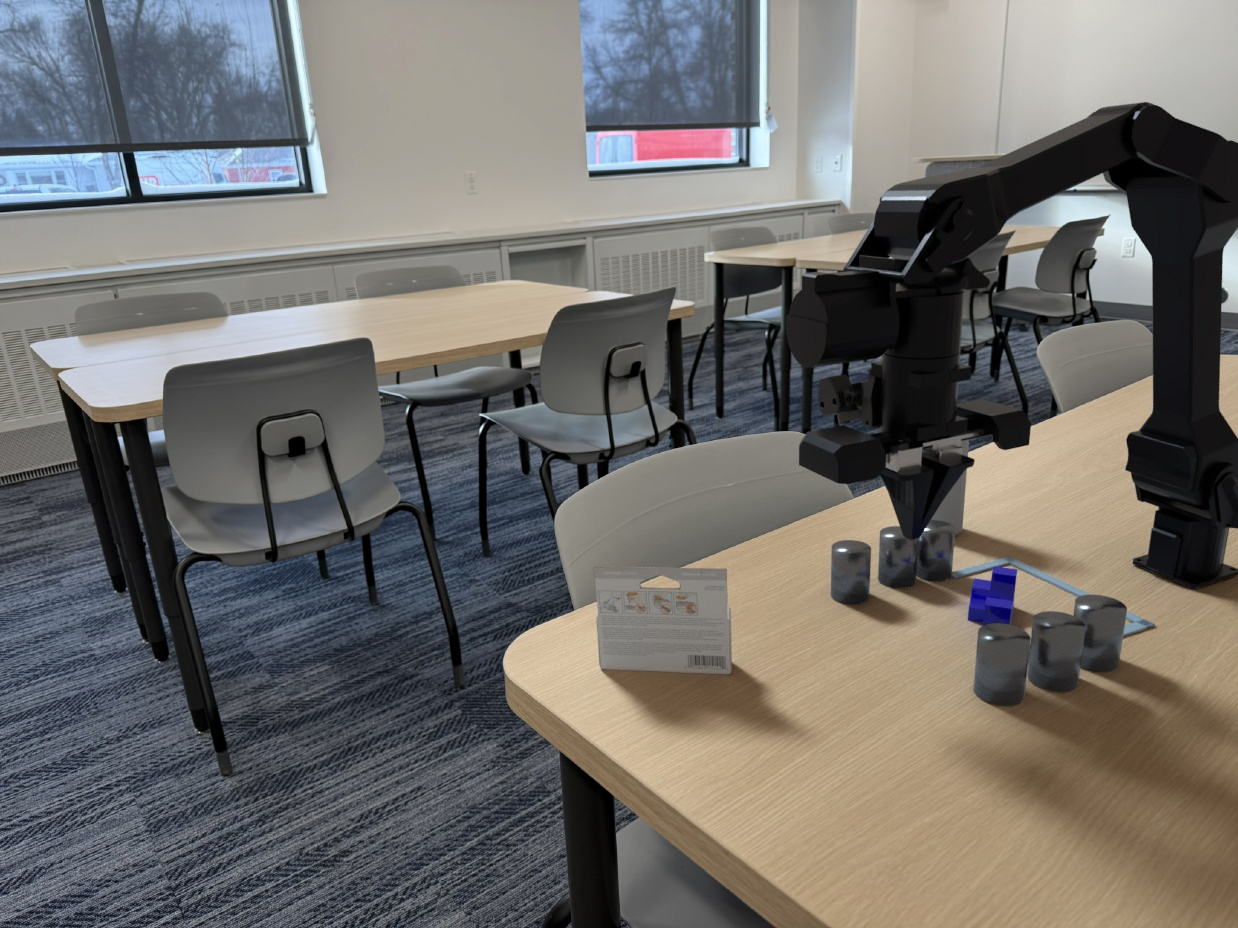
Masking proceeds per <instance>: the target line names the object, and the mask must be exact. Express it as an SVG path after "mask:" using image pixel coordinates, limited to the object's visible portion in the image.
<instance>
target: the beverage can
mask: <svg viewBox="0 0 1238 928" xmlns="http://www.w3.org/2000/svg"><path fill="white" fill-rule="evenodd" d="M969 443H970V439H968V440H963V441H961V447H963V448H962V455H964V456H967V457H969V447H970V446H969ZM967 473H968V468H967V469H966V470H965V471H964V473H963V474H962V475H961V477H960V478H959V479H958V481H957V482H956V483H955V485H954V486H953V487H952V489H951V490H950V491H949V493H948V494H947V496H946V497H945V498H944V500H943V502H942V503H941V504H940V506H939V508H938V509H937V511H936V512H935V514H934V516H933V517H932V519H931V520H938V521H944V522H947V523H950V524H952V525H953V526H954V527H955V536H958V534H959V533H960V532H961V531H962V530H963V526H964V514H965V513H964V512H965V502H966V501H965V500H966V487H967V486H966V485H967Z"/></svg>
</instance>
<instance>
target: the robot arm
mask: <svg viewBox="0 0 1238 928" xmlns="http://www.w3.org/2000/svg"><path fill="white" fill-rule="evenodd" d="M1101 174H1102V176H1103V177H1104V181H1106V183H1107V184H1109V185H1111V186H1112V187H1113V188H1115V189H1116V190H1118V191H1119V192H1121V193H1122V194H1124V195H1125V196H1126V200H1127V205H1128V212H1129V217H1130V224H1131V228H1132V230H1133V231H1134V232H1135V233H1136V235H1137V236H1138V238H1139V240H1140V242H1142V244H1143V245H1144V247H1145V249H1146V250H1147V251H1148V253H1149V254H1150V258H1151V262H1152V264H1151V265H1152V267H1151V271H1152V273H1151V275H1152V277H1151V278H1152V279H1151V280H1152V281H1151V282H1152V285H1151V287H1152V289H1151V291H1152V292H1151V293H1152V295H1151V296H1152V300H1151V301H1152V302H1151V303H1152V309H1151V310H1152V411H1151V414H1150V415H1149V417H1148V418H1146V420H1145V422H1144V423H1142V425H1141V427H1140V428H1139V430H1135V431H1131V432H1129V433H1128V434H1127V436H1126V439H1125V442H1126V447H1127V462H1126V466H1125V469H1124V471H1127V472H1129V473H1130V475H1131V480H1132V482H1133V484H1134V487H1135V494H1136V499H1137V501H1138V502H1140V503H1141V502H1142V503H1147V504H1148V505H1152V506H1155V507H1158V509H1157V510H1155V512H1154V518H1153V524H1152V528H1151V530H1150V537H1149V544H1148V550H1147V553H1146V554H1144V555H1141V556H1138V557H1134V558H1132V562H1131V564H1133V565H1134V566H1136V567H1140V568H1141V569H1144V570H1146V571H1148V572H1151V573H1154V574H1156V575H1158V576H1161V577H1162V578H1165V579H1168V580H1171V581H1173V582H1175V583H1178V584H1180V585H1183V586H1185V587H1188V588H1190V589H1199V588H1201V587H1205V586H1208V585H1210V584H1215V583H1217V582H1220V581H1223V580H1226V579H1229V578H1233V577H1235V576H1238V568H1236V567H1235V566H1234V567H1233V566H1232V565H1228V564H1226V563H1224V561H1225V560H1224V559H1225V555H1226V548H1227V544H1228V538H1229V532H1230V529H1238V436H1237V435H1236V433H1235V431H1234V430H1233V429H1232V427H1231V426H1230V424H1229V423H1228V421H1227V420H1226V418H1225V417H1224V415H1223V413H1222V412H1221V409H1220V382H1221V381H1220V378H1221V377H1220V375H1221V342H1222V340H1221V338H1222V337H1221V335H1222V334H1221V333H1222V332H1221V331H1222V303H1223V302H1222V299H1223V297H1222V295H1223V264H1224V263H1223V259H1224V258H1223V257H1224V249H1225V247H1226V245H1227V244H1228V242H1229V241H1230V240H1231V238H1232V237H1233V236H1234V234H1235V233H1236V231H1237V230H1238V142H1237V141H1234V140H1227V139H1226V138H1225V137H1224V136H1222V135H1221V134H1219V133H1217V132H1215V131H1212V130H1210V129H1206V128H1204V127H1201V126H1198V125H1195V124H1194V123H1190V122H1187V121H1184V120H1183V119H1179V118H1176V117H1175V116H1173V115H1172V113H1171V114H1170V113H1169V112H1168V111H1167V110H1166V109H1165V108H1163V107H1162V106H1159V105H1157V104H1154V103H1151V102H1148V101H1144V102H1143V101H1142V102H1134V103H1127V104H1119V105H1110V106H1103V107H1100V108H1099V109H1097V110H1095V111H1093V112H1091V114H1089V115H1088V116H1087V117H1085V118H1083V119H1081V120H1079V121H1076V122H1075V123H1073V124H1070V125H1067V126H1066V127H1065V126H1064V128H1061V129H1060V130H1057V131H1055V132H1052V133H1050V134H1048V135H1045V136H1043V137H1042V138H1041V137H1040V138H1039V139H1037V140H1035V141H1033V142H1030V143H1028V144H1026V145H1023V146H1022V147H1021V146H1020V148H1017V149H1015V150H1013V151H1010V152H1008V153H1006V154H1004V155H1001V156H999V157H997V158H995V159H994V160H993V159H992V160H990V161H989V162H987V163H985V164H983V165H982V164H981V165H980V166H976V167H973V168H970V169H969V168H968V169H964V170H960V171H959V170H957V171H953V172H947V173H942V174H941V173H939V174H935V175H929V176H927V177H922V178H916V179H913V180H908V181H903V182H900V183H896V184H894V185H893V186H891V187H890V188H889V189H887V190H886V191H885V192H883V194H882V195H881V196H880V197H879V203H878V205H877V208H876V211H875V213H874V219H873V220H872V222H871V224H870V226H869V227H868V229H867V231H865V234H863V237H862V238H861V240H860V241H859V243H858V245H857V246H856V247H855V250H854V252H852V254H851V256H850V257H849V259H848V261H847V262H846V263H845V266H844V267H843V269H842V271H840V272H823V271H821V272H820V271H814V272H813V271H812V272H804V273H803V274H802V275H801V289H800V290H799V291H798V292H797V293H796V294H795V295H794V298H792V301H791V303H790V307H789V312H788V314H787V315H786V316H785V331H786V337H787V338H786V339H787V344H788V347H789V350H790V352H791V355H792V356H793V358H794V359H795V361H796V362H797V363H798V364H799V365H801V366H802V367H803V368H806V369H809V368H810V369H811V368H817V367H826V366H831V365H840V364H847V363H854V362H860V361H866V360H867V361H868V360H869V361H870V360H876V359H878V358H880V357H881V360H880V361H873V362H871V363H870V367H869V368H868V374H867V375H868V378H867V380H864V381H860V382H854V383H852V382H851V381H850V379H849V377H848V375H846V374H840V375H834V376H829V377H828V376H826V377H824V378H821V379H820V378H819V380H818V381H819V382H818V393H817V402H818V407H819V411H820V413H821V414H822V415H823V416H824V417H829V416H835V415H836V416H837V420H838V421H837V422H838V426H833V427H832V426H831V427H827V428H826V427H825V428H821V429H816V430H809V431H807V432H806V433H805V434H804V436H803V437H802V438H801V440H800V442H799V445H798V465H799V466H800V467H803V468H805V469H806V470H809V471H811V472H813V473H815V474H817V475H818V476H821V477H823V478H825V479H827V480H830V481H832V482H834V483H836V484H841V485H842V484H843V485H851V484H856V483H860V482H865V481H869V480H874V479H878V477H880V479H881V480H882V483H883V485H884V487H885V488H886V490H887V493H888V496H889V499H890V501H891V505H892V506H893V510H894V513H895V516H896V518H897V521H898V524H899V526H900V528H901V531H902V533H903V536H904V537H906V538H908V539H910V540H914V539H918V538H920V536H921V535H922V533H923V531H924V530H925V528H926V527H927V525H928V524H929V522H930V520H931V519H932V517H933V516H934V514H935V512H936V511H937V509H938V508H939V506H940V504H941V503H942V502H943V500H944V498H945V497H946V496H947V494H948V493H949V491H950V490H951V489H952V487H953V486H954V485H955V483H956V482H957V481H958V479H959V478H960V477H961V475H962V474H963V473H964V471H965V470H966V469H967V470H968V468H972V467H974V464H975V461H976V460H975V459H974V458H973V457H970V456H968V457H967V456H964V455H962V448H963V447H961V441H963V440H968V439H969V440H972V439H976V438H981V437H986V436H992V442H993V443H994V444H995V445H996V446H997V448H998V449H1000V450H1003V451H1007V450H1008V451H1009V450H1012V449H1016V448H1021V447H1026V446H1029V445H1030V440H1031V439H1030V438H1031V430H1032V429H1031V427H1032V422H1031V420H1030V419H1029V417H1028V416H1027V414H1026V411H1024V409H1022V408H1021V409H1020V408H1017V407H1014V406H1010V405H1006V404H1002V403H998V402H994V401H991V400H988V399H984V398H981V399H976V400H969V401H965V402H961V403H958V395H959V394H958V392H959V383H960V382H964V381H971V379H972V378H971V377H972V366H971V365H965V364H961V362H960V361H961V348H962V347H961V346H962V345H961V344H962V332H963V331H962V330H963V329H962V328H963V317H964V315H963V314H964V304H965V303H964V302H965V291H974V290H981V289H987V288H989V286H990V284H991V279H990V278H989V277H988V276H986V275H985V274H984V273H983V271H981V270H979V269H978V268H977V267H976V266H975V264H974V263H973V261H972V259H971V258H970V257H971V256H972V255H973V254H975V253H977V251H979V250H980V249H982V248H983V247H984V246H986V245H988V244H989V243H990V242H992V241H993V240H995V239H996V238H997V237H998V235H999V234H1000V233H1001V231H1002V230H1003V228H1004V226H1005V225H1006V223H1007V221H1009V220H1010V219H1012V218H1013V217H1015V216H1016V215H1017V214H1019V213H1021V212H1024V211H1025V210H1028V209H1029V208H1031V207H1033V206H1036V205H1037V204H1040V203H1043V202H1044V201H1046V200H1049V199H1051V198H1052V197H1055V196H1057V195H1059V194H1062V193H1063V192H1065V191H1067V190H1068V191H1069V190H1070V189H1072V188H1073V187H1074V188H1075V187H1076V186H1079V185H1080V184H1083V183H1085V182H1086V181H1089V180H1091V179H1094V178H1095V177H1097V176H1100V175H1101ZM860 419H861V425H862V426H866V427H867V428H875V427H876V428H879V432H877V433H872V434H868V433H865V432H863V431H860V430H858V429H854V428H852V427H849V426H847V425H846V424H850V423H851V421H855V420H860Z"/></svg>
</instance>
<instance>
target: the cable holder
mask: <svg viewBox="0 0 1238 928" xmlns="http://www.w3.org/2000/svg"><path fill="white" fill-rule="evenodd" d="M1017 575H1018V568H1017V569H1016V568H1010V567H1004V566H1000V567H996V566H993V568H992V571H991V579H990V580H987V579H981V578H975V577H974V579H973V583H972V587H971V593H970V600H969V605H968V612H967V613H968V614H967V621H970V622H977V623H983V624H982V626H984V625H987V624H993V623H1001V624H1008V625H1012V618H1013V613H1014V607H1015V606H1014V605H1015V596H1016V595H1015V594H1016V587H1017V586H1016V585H1017V577H1018V576H1017Z"/></svg>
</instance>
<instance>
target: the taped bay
mask: <svg viewBox="0 0 1238 928" xmlns="http://www.w3.org/2000/svg"><path fill="white" fill-rule="evenodd" d="M1007 565H1011V566H1013V567H1015V568H1017V569H1019V570H1021V571H1022V572H1023V571H1024V572H1026V573H1028V574H1030V575H1032V576H1034V577H1036V578H1039V579H1040V580H1043V581H1044V582H1047V583H1048V584H1051V585H1053V586H1055V587H1056V588H1057V587H1058V588H1059V589H1062V591H1066V592H1068V593H1069V594H1072V595H1074V596H1076V597H1077V598H1078V597H1079V596H1083V595H1092V594H1091V593H1089V592H1087V591H1085V590H1082V589H1081V588H1078V587H1076V586H1074V585H1072V584H1070V583H1067V582H1065V581H1063V580H1061V579H1059V578H1056V577H1055V576H1052V575H1050V574H1048V573H1046V572H1044V571H1042V570H1040V569H1037V568H1035V567H1033V566H1031V565H1028V564H1026V563H1024V562H1022V561H1021V560H1018V559H1016V558H1013V557H1011V556H1007V557H1006V556H1005V557H1002V558H999V559H995V560H991V561H988V562H983V563H980V564H977V565H974V566H973V565H972V566H970V567H965V568H962V569H958V570H954V571H952V575H951V578H953V579H959V578H964V577H966V576H969V575H974V574H977V573H980V572H981V573H982V572H985V571H989V570H993V566H996V567H1004V566H1007ZM1126 621H1128V622H1131V623H1128V624H1125V627H1124V634H1123V637H1126V636H1129V635H1132V634H1135V633H1138V632H1141V631H1144V630H1148V629H1150V628H1153V627H1155V623H1154V622H1152V621H1149V620H1148V619H1145V618H1143V617H1141V616H1139V615H1136V614H1134V613H1133V612H1130V611H1128V610H1127V614H1126Z"/></svg>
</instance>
